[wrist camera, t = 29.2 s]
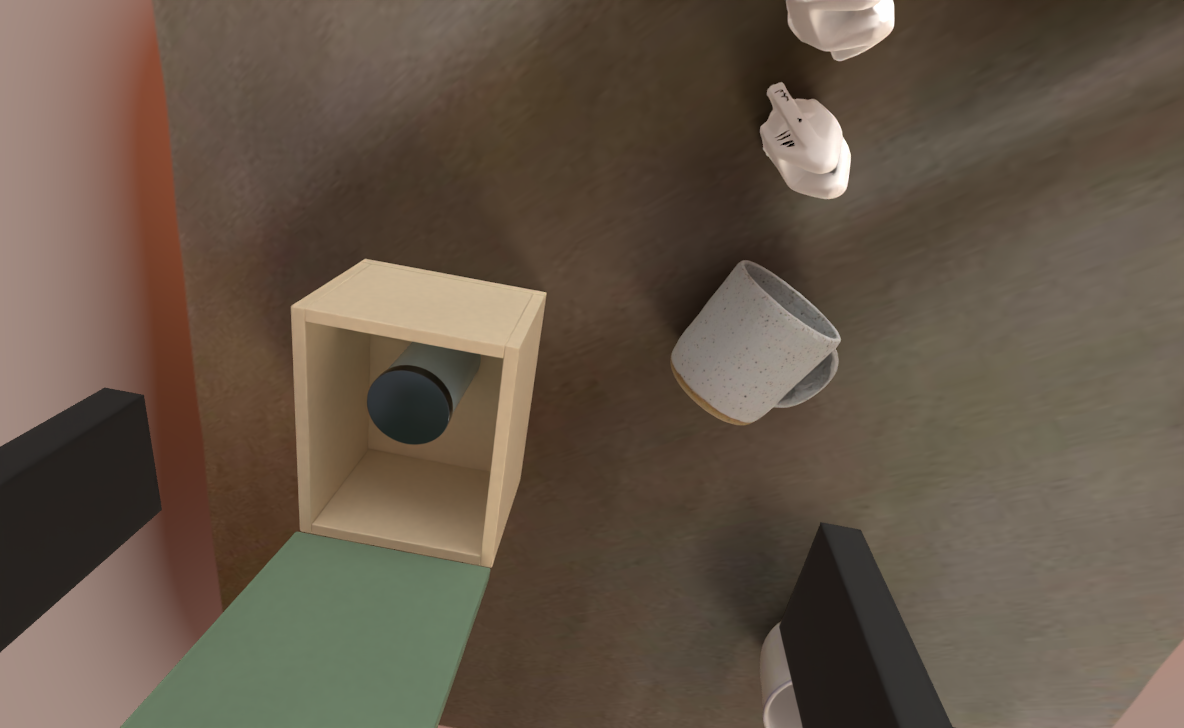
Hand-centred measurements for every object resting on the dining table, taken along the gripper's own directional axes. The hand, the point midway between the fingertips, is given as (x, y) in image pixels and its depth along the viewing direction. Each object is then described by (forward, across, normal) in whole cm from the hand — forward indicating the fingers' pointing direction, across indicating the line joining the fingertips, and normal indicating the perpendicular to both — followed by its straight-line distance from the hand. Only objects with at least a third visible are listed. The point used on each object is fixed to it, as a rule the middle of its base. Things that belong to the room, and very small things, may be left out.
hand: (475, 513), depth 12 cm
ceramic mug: (+31, +12, -6) cm, 34 cm away
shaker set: (+31, +10, +10) cm, 34 cm away
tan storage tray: (+31, -9, -14) cm, 35 cm away
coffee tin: (+30, -9, -12) cm, 33 cm away
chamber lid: (+12, -9, -20) cm, 25 cm away
